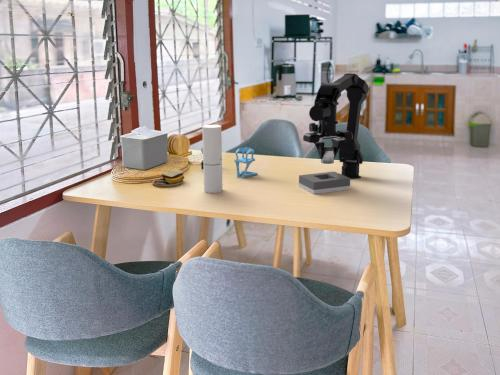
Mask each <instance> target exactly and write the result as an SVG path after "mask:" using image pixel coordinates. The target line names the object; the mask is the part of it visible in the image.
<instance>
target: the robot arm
mask: <svg viewBox="0 0 500 375" xmlns="http://www.w3.org/2000/svg"><path fill="white" fill-rule="evenodd" d="M369 89H370V88H369V85H368V82H367V81H366V80H364V79H363V78H361V77H360V76H359V75H358V74H356V73H352V72H351V73H345V74H343V76H341V77H339V78H337V79H336V80H335V81H333V82H326V83H322V84H321V85H320V86H319V87H318V90H317V93H316V96H315V98H314V103H313V106H312V107H311V108H310V109H309V111H308V114H309V118H310V119H311V120H312V121H314V122H310V123H309V124H308V130H309V132H306V133H304V134H303V140H302V141H304V142H307V143H310V144H313V145H314V146H315V148H316V150H317V153H318V156H319V158H320V160H321V159H323V153H324V146H325V142H323V140H329V139H330V140H331V143H332V146H333V147H334V159H335V158H336V157H337V154H338V160H339V163H342V166H341V174H342V175H344V176H346V177H349V178H350V180H351V179H358V178H359V179H360V178H361V177H362V176H361V175H360V165H362V164H363V162H364V156H363V153H362V152H361V145H360V142H359V141H358V137H359V136H358V135H359V128H360V120H361V111H362V104H363V103H364V102H365V101H366V99H367V96H368V94H369ZM343 91H346V97H347V100H348V102H349V107H348V115H347V123H346V129H342V130H337V125H338V124H339V121H338V120H337V110H338V109H337V108H338V107H337V106H338V105H339V104H340V103H339V102H338V100H339V98H341V96H342V92H343ZM315 122H318V124H317V123H315Z"/></svg>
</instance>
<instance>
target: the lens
mask: <svg viewBox="0 0 500 375" xmlns="http://www.w3.org/2000/svg"><path fill="white" fill-rule="evenodd" d="M320 163H321V164H325V165H329V164H330V165H331V164H334V163H335V158H334V147H333V145H332V146H331V145H324V153H323V159H320Z"/></svg>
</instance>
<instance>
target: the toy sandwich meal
mask: <svg viewBox="0 0 500 375" xmlns="http://www.w3.org/2000/svg"><path fill="white" fill-rule="evenodd" d="M161 178H162V179H159V178H156V179H157V180H156V179H153V180H152V185H154V186H156V187H159V188H161V187H162V188H170V187H171V188H172V187H177V186H180V185H183V182H184V179H185V176H184V171H182V170H181V169H176V168H171V169H169V170H167V171H164V172H162V173H161Z"/></svg>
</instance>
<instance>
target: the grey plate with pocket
mask: <svg viewBox="0 0 500 375" xmlns="http://www.w3.org/2000/svg"><path fill="white" fill-rule="evenodd" d="M298 187H299V188H301V189H303V190H304V191H307V192H308V193H311V194H313V195H315V194H326V193H333V192H339V191H341V192H342V191H348V190H349V191H350V189H351V179H350V178H349V177H346V176H344V175H342V173H339V172H337V171H325V172H318V173H317V172H316V173H309V174H308V173H307V174H300V175H298Z"/></svg>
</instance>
